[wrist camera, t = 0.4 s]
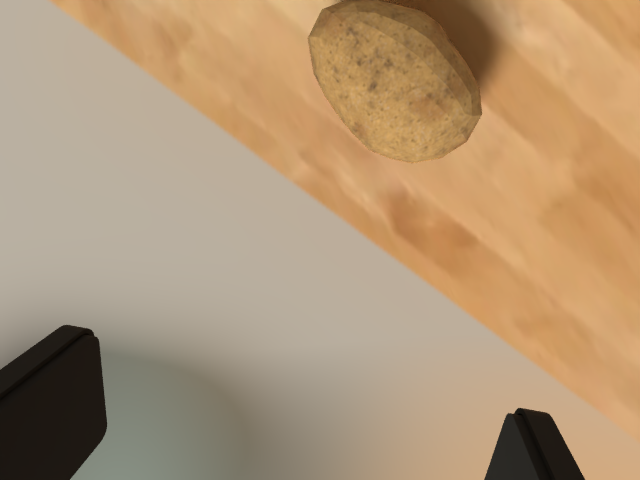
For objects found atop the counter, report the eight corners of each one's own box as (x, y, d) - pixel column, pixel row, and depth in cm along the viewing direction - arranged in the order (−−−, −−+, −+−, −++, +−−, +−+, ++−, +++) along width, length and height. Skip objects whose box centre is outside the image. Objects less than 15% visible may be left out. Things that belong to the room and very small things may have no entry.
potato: (363, -27, 32) (357, -66, 25) (495, 88, 33) (527, 85, 26) (291, 78, 35) (267, 73, 28) (413, 180, 37) (422, 200, 29)
